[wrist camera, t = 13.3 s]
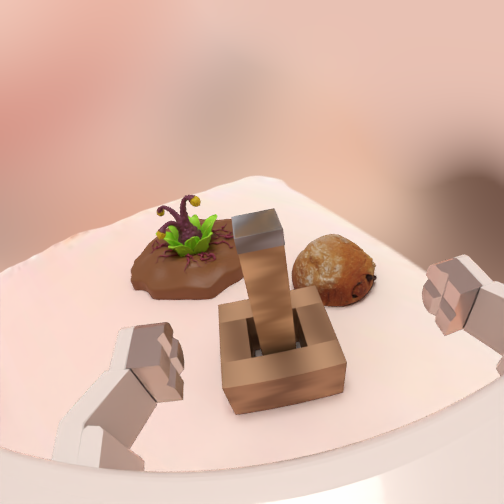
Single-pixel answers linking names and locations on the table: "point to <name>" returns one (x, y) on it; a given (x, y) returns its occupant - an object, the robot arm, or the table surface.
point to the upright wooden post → (266, 278)
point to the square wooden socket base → (279, 357)
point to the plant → (188, 257)
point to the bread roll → (334, 270)
